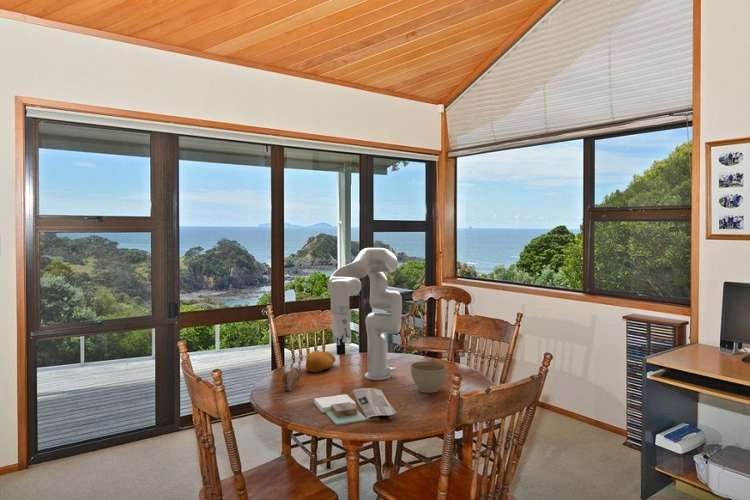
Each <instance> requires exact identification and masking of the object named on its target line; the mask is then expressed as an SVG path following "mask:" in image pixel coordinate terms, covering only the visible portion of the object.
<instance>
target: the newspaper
mask: <svg viewBox="0 0 750 500" xmlns="http://www.w3.org/2000/svg"><path fill="white" fill-rule="evenodd" d="M352 395H353V397H354V398H355V400H356V402H357V404H358V405H359V408H360V409H361V411H362V413H363V416H364V417H365V418H367V420H366V422H371V421H379V420H381V419H380V417H379V416H386V417H387V418H388V419H389V420H393V419H394V418H395V414H397V411H396V410H395V408H394V407H393V406H392V405H391V403H390V402H389V401H388V399H387V398H386V397H387V396H385V394H384V392H383V390H382V389H377V388H374V387H369V388H367V387H366V388H357V389H353V390H352Z"/></svg>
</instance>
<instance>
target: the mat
mask: <svg viewBox="0 0 750 500" xmlns="http://www.w3.org/2000/svg"><path fill="white" fill-rule="evenodd" d="M325 415H327V417H328V418H329V419H330V420H331V421H332V422H333V424H334V425H336V426H340V425H346V424H352V423H358V422H367V418H366V417H365V415H364V414H362V413H361V412H360V411H359V410H358V409H357V415H351V416H345V417H338V418H337V417H336V416H335V415H334V414H333V413H332V411H331V410H330V411H325Z"/></svg>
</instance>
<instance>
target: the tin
mask: <svg viewBox="0 0 750 500" xmlns="http://www.w3.org/2000/svg"><path fill="white" fill-rule="evenodd" d="M281 381H282V389H283V390H284V391H289V392H291V391H292V390H294V388H295V387H297V386H298V385H299V381H300V372H299V368H298V367H297V366H296V367H290V368H289V369H288V370H286V371H285V372H284V373H283V374H282V379H281Z"/></svg>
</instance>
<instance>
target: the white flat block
mask: <svg viewBox="0 0 750 500" xmlns="http://www.w3.org/2000/svg"><path fill="white" fill-rule="evenodd" d="M347 402H351V403H352V404H353V405H354V406H355V407H356V408H357V403H356V402H357V401H356V402H355V400H353V399H352V398H351V397H350V396H349V395H348V394H338V395H331V396H324V397H315V398H313V403H314V405H315V406H316V407H317V409H318V410H319V411H320V412H321V413H322V414H324V413H325V411H330V410H331V405H332V404H340V403H347ZM325 414H326V413H325Z"/></svg>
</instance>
